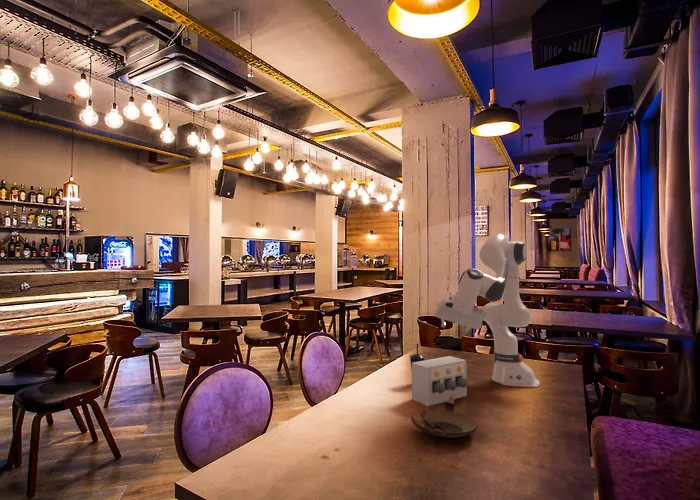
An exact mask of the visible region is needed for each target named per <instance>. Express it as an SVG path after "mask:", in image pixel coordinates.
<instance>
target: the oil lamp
mask: <svg viewBox="0 0 700 500" xmlns="http://www.w3.org/2000/svg"><path fill="white" fill-rule="evenodd" d="M454 409H455V399H454V397H453V396H450V398H449V400H448V401H446V402H444V409H442V410H441V409H440V410H438V409H425V410H423V411H422V412H421V413H419V415H420V417H421V419H422V420H423V421H424V422H425V424H424V423H423V422H421V421H420V420H418V419H416V417H414V416H413V415H412V416H411V418H410V419H411V420H410V421H411V423H412V424H413V425H414V426H415V427H416V428H418V429H419V430H421V431H422V432H425V433H427V434H430V435H432V436H437V437H441V438H447V439H448V438H449V439H450V438H459V437H464V436H468V435H470V434H473V433H474V432H476V431H477V430H478V423H477V422H476V420H474V419H472V418H471V417H469V416H467V415H464V414H462V413H459V412H455V410H454ZM426 424H427V425H426ZM436 427H438V428H439V429H441V430H443V431H441V430H437V429H435V428H436Z"/></svg>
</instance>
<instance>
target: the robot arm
mask: <svg viewBox="0 0 700 500" xmlns="http://www.w3.org/2000/svg"><path fill="white" fill-rule="evenodd" d="M527 256H528V248H527V245H526V243H524V242H522V241H510V240H508V238H507V237H506V236H505V235H503V234H501V233H495V234H493V235H491V236H490V237H488V239H487V240H485V242H484V243H483V245H482V246H481V248H480V251H479V259H480V261H481V263H482V264H483V265H484V266H486V267H487V268H489V269H491V270H492V271H493V272H494V273H496V277H493V276H491V275H489V274H487V273H484V272H482V271H481V270H480V269H477V268H474V267H473V268H472V267H471V268H467V269H466V270H464V271H463V272H462V274H461V276H460V278H459V281H458V287H457V292H456V293H455V294H444V295H443V296H442V299H441V300H440V301H439V302H438V303H437V305H436V307H435V310H434V316H435V318H437V319H440V321H441V325H440V326H441V328H444V329H445V328H446V325H447V324H446V322H445V321H448V322H451V323H454V324H458V325H460V326H464V328H463V329H462V332H461V333H462V334H463V335H466V334H467V332H469V331H470V330H471V329H474V330H480V329H481V328H482V326H483V325H482V324H483V321H484V322H485V323H487V326H489V328H490V330H491V332H492V336H493V342H494V343H493V345H494V351H493V364H494V365H493V372H492V376H491V380H492V381H493V382H496V383H498V384H500V385H503V386H506V387H507V386H510V387H526V388H539V387H540V385H541V382H540V380H539V379H538V378H536V376H535V373H534V371H533V369H532V368H531V367H530V366H529V365H527V364H526V363H525V362H523V360H524V357H523V356H522V354H521V353H519V352H518V351H519V349H518V347H519V345H518V338H517V336H516V335H515V334H514V333H512V332H511V331H510V329H509V327H513V328H525V327H528V326H529V324H530V323H531V322H532V321H531V320H532V314H531V311H530V310H529V308H528V307H526V305H524V303H523V302H522V299H521V296H520V265H521V264H522V263H524V262H525V261H526V259H527ZM478 296H480V297H482V298H484V299H486V300H487V301H489V302H492V303H488V304H485V305H484V306H483V307H482V309H480V308H477V307H475V305H476V302H477V297H478ZM501 299H503V302H504V303H494V302H498V301H501Z"/></svg>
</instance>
